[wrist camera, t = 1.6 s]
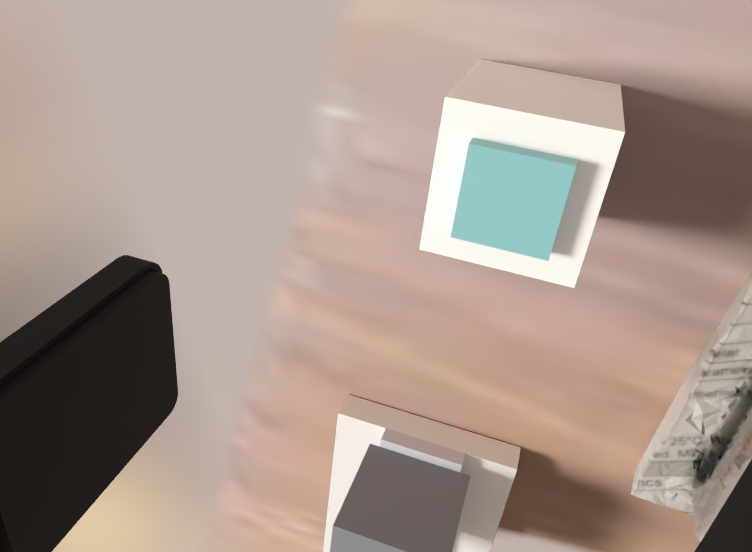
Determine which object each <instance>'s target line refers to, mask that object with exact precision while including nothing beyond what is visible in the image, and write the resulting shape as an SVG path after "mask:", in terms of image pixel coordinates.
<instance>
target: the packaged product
mask: <svg viewBox="0 0 752 552" xmlns="http://www.w3.org/2000/svg"><path fill="white" fill-rule="evenodd" d="M751 459H752V271H751V273H750V275H749V277H748V279H747V280H746V282H745V283H744V285H743V287H742V288H741V290H740V292H739V293H738V295H737V296H736V298H735V300H734V301H733V303H732V304H731V306H730V308H729V309H728V311H727V312H726V314H725V316H724V317H723V319H722V320H721V322H720V324H719V325H718V327H717V328H716V330H715V331H714V333H713V334H712V336H711V337H710V339H709V341H708V342H707V344H706V346H705V347H704V349H703V351H702V352H701V354H700V356H699V357H698V359H697V361H696V362H695V364H694V366H693V367H692V369H691V371H690V372H689V374H688V376H687V378H686V379H685V381H684V383H683V384H682V386H681V387H680V389H679V391H678V393H677V395H676V397H675V398H674V400H673V402H672V404H671V406H670V408H669V409H668V411H667V413H666V415H665V417H664V419H663V420H662V422H661V424H660V426H659V428H658V430H657V431H656V433H655V435H654V437H653V439H652V441H651V442H650V444H649V446H648V448H647V450H646V452H645V453H644V455H643V457H642V459H641V461H640V463H639V464H638V466H637V469H636V472H635V474H634V479H633V485H632V491H631V495H634V496H636V497H639V498H642V499H645V500H648V501H651V502H653V503H656V504H659V505H662V506H665V507H669V508H673V509H676V510H679V511H682V512H684V513H687V514H690V515H693V516H694V533H695V535H696V537H697V539H698V542H699V543H700V542H701V541H702V539H703V537H704V536H705V534H706V532H707V531H708V529H709V528H710V526H711V524H712V523H713V521H714V519H715V518H716V516H717V515H718V513H719V511H720V510H721V508H722V507H723V505H724V503H725V502H726V500H727V498H728V497H729V495H730V494H731V492H732V490H733V489H734V487H735V485H736V484H737V482H738V481H739V479H740V477H741V476H742V474H743V472H744V471H745V469H746V468H747V466H748V464H749V463H750V461H751Z"/></svg>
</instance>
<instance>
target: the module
mask: <svg viewBox="0 0 752 552" xmlns="http://www.w3.org/2000/svg"><path fill="white" fill-rule="evenodd" d="M624 134H625V124H624V114H623V104H622V93H621V85H620V84H615V83H609V82H604V81H598V80H593V79H587V78H582V77H576V76H571V75H565V74H560V73H554V72H549V71H543V70H538V69H532V68H527V67H521V66H516V65H510V64H505V63H499V62H494V61H488V60H483V59H479V60H478V61H477V62H476V63H475V64H474V66H473V67H472V68H471V69H470V70H469V71H468V72H467V73H466V74H465V75H464V76H463V78H462V79H461V80H460V81H459V82H458V83H457V84H456V85H455V86H454V87H453V88H452V89H451V91H450V92H449V93H448V94H447V95H446V96H445V99H444V105H443V111H442V117H441V123H440V129H439V135H438V141H437V147H436V153H435V159H434V165H433V170H432V176H431V182H430V188H429V194H428V200H427V206H426V212H425V218H424V224H423V230H422V236H421V242H420V248H419V249H420V250H424V251H428V252H432V253H436V254H440V255H444V256H448V257H452V258H456V259H460V260H464V261H468V262H472V263H476V264H480V265H484V266H488V267H492V268H496V269H500V270H504V271H508V272H512V273H516V274H520V275H524V276H528V277H532V278H536V279H540V280H544V281H548V282H552V283H556V284H560V285H564V286H568V287H572V288H574V287H575V284H576V281H577V278H578V275H579V272H580V269H581V266H582V263H583V260H584V257H585V254H586V250H587V247H588V244H589V241H590V238H591V235H592V232H593V229H594V226H595V223H596V220H597V217H598V214H599V211H600V208H601V205H602V202H603V199H604V196H605V192H606V189H607V186H608V183H609V180H610V177H611V174H612V171H613V168H614V165H615V162H616V159H617V156H618V153H619V150H620V147H621V144H622V141H623V137H624Z"/></svg>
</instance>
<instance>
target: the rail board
mask: <svg viewBox="0 0 752 552" xmlns="http://www.w3.org/2000/svg"><path fill="white" fill-rule="evenodd" d="M520 449H521V447H518V446H514V445H511V444H508V443H505V442H501V441H498V440H495V439H492V438H488V437H485V436H482V435H479V434H475V433H472V432H469V431H466V430H462V429H459V428H456V427H453V426H449V425H446V424H443V423H440V422H436V421H433V420H430V419H427V418H423V417H420V416H417V415H414V414H410V413H407V412H404V411H401V410H397V409H394V408H391V407H388V406H384V405H381V404H378V403H375V402H371V401H368V400H365V399H362V398H358V397H355V396H352V395H349V394H348V396H347V398H346V400H345V402H344V404H343V405H342V407H341V409H340V411H339V413H338V420H337V429H336V438H335V447H334V457H333V466H332V475H331V484H330V493H329V502H328V512H327V521H326V530H325V539H324V548H323V552H490V550H491V547H492V544H493V541H494V538H495V535H496V532H497V529H498V526H499V523H500V520H501V517H502V514H503V511H504V508H505V505H506V502H507V499H508V496H509V493H510V490H511V487H512V484H513V481H514V478H515V475H516V472H517V468H518V462H519V455H520Z"/></svg>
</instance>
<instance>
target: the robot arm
mask: <svg viewBox="0 0 752 552" xmlns="http://www.w3.org/2000/svg"><path fill="white" fill-rule="evenodd" d="M177 396H178V387H177V375H176V362H175V350H174V337H173V325H172V313H171V301H170V288H169V280H168V278H167V276H166V275H164V274H162V270H161V268H160V266H159V265H158V264H156V263H153V262H150V261H146V260H143V259H139V258H135V257H131V256H128V255H126V256H125V255H123V256H121V257H119V258H117V259H116V260H114V261H113V262H112V263H110V264H109V265H107V266H106V267H105V268H103V269H102V270H100V271H99V272H98V273H96V274H95V275H94V276H92V277H91V278H90V279H88V280H87V281H85V282H84V283H82V284H81V285H80V286H78V287H77V288H75V289H74V290H73V291H71V292H70V293H68V294H67V295H66V296H64V297H63V298H62V299H60V300H59V301H57V302H56V303H55V304H53V305H52V306H51V307H49V308H48V309H46V310H45V311H43V312H42V313H41V314H39V315H38V316H37V317H35V318H34V319H32V320H31V321H29V322H28V323H27V324H25V325H24V326H23V327H21V328H20V329H18V330H17V331H16V332H15V333H13V334H11V335H10V336H9V337H7V338H6V339H4V340H3V341H2V342H0V552H52V551H53V549H54V548H55V547H56V546H57V545H58V544H59V542H60V541H61V540H62V539H63V538H64V537H65V536H66V534H67V533H68V532H69V531H70V530H71V529H72V527H73V526H74V525H75V524H76V523H77V521H78V520H79V519H80V518H81V517H82V516H83V515H84V513H85V512H86V511H87V510H88V509H89V508H90V506H91V505H92V504H93V503H94V502H95V500H96V499H97V498H98V497H99V496H100V495H101V493H102V492H103V491H104V490H105V489H106V488H107V487H108V485H109V484H110V483H111V482H112V481H113V480H114V478H115V477H116V476H117V475H118V474H119V473H120V471H121V470H122V469H123V468H124V467H125V466H126V464H127V463H128V462H129V461H130V460H131V459H132V458H133V456H134V455H135V454H136V453H137V452H138V451H139V449H140V448H141V447H142V446H143V445H144V443H145V442H146V441H147V440H148V439H149V438H150V437H151V435H152V434H153V433H154V432H155V431H156V429H157V428H158V427H159V426H160V425H161V424H162V423H163V421H164V420H165V419H166V418H167V416H169V414H170V413H171V412H172V410H173V408H174V406H175V404H176V401H177ZM695 552H752V459H751V461H750V463H749V464H748V466H747V468H746V469H745V471H744V472H743V474H742V476H741V477H740V479H739V481H738V482H737V484H736V485H735V487H734V489H733V490H732V492H731V494H730V495H729V497H728V498H727V500H726V502H725V503H724V505H723V507H722V508H721V510H720V511H719V513H718V515H717V516H716V518H715V519H714V521H713V523H712V524H711V526H710V528H709V529H708V531H707V532H706V534H705V536H704V537H703V539H702V541H701V542H700V544H699V545H698V547H697V549H696V550H695Z"/></svg>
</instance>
